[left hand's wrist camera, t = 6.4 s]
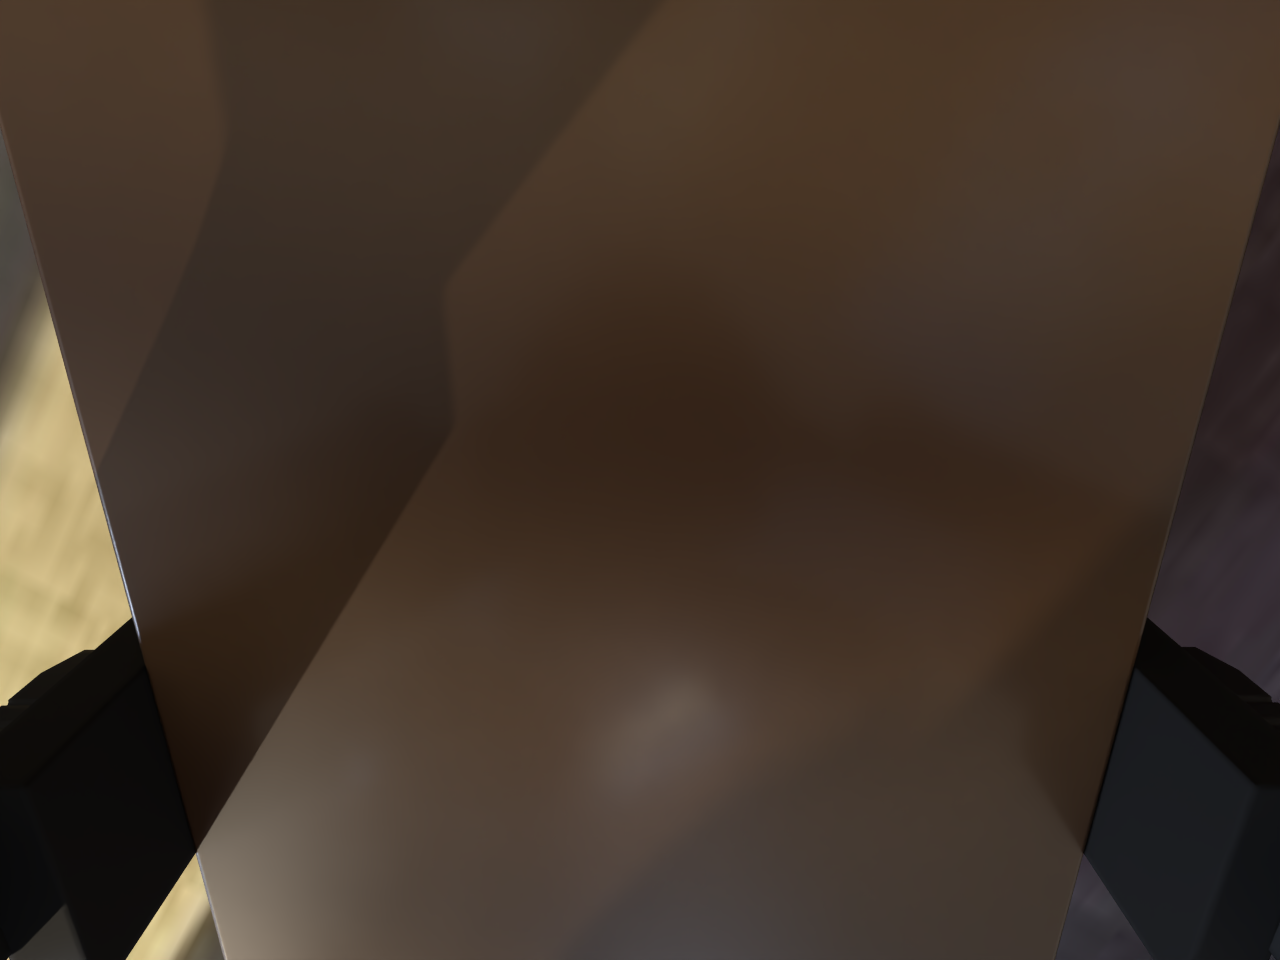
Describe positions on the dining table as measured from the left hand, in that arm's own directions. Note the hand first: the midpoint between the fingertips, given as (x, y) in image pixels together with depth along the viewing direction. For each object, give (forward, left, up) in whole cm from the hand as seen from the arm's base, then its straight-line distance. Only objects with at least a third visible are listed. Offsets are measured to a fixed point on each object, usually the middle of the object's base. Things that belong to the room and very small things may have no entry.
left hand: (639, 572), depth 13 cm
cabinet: (+5, -1, -3) cm, 6 cm away
